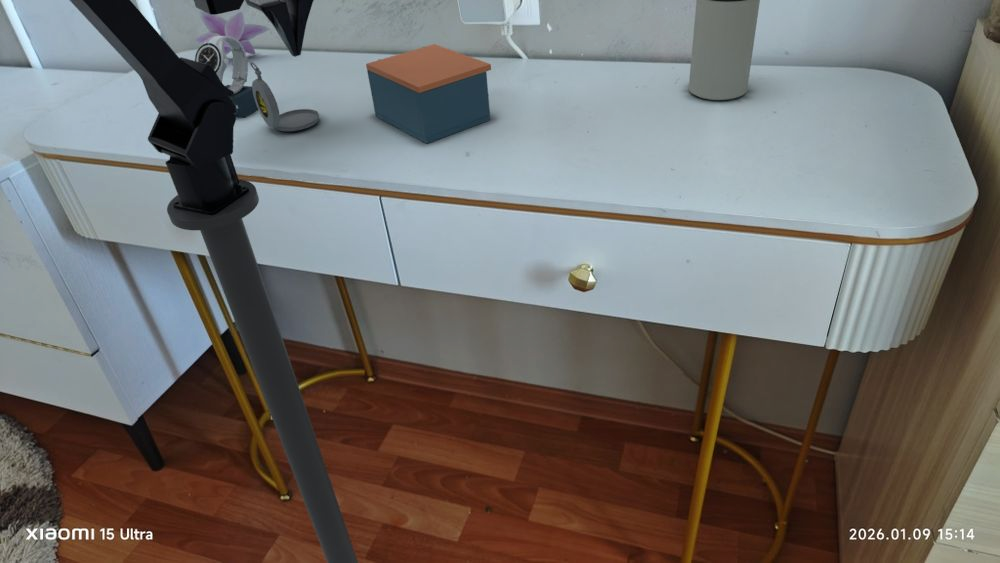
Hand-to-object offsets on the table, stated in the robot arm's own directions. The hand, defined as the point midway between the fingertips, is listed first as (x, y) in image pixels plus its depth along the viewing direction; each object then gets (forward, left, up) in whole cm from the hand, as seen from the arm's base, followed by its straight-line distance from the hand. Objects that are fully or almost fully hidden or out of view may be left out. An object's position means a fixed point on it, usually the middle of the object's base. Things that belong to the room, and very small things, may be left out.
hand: (296, 55), depth 86 cm
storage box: (+12, -11, -12) cm, 20 cm away
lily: (+26, +37, -12) cm, 47 cm away
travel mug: (+31, -47, -12) cm, 58 cm away
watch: (+7, +20, -12) cm, 24 cm away
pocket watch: (+4, +8, -12) cm, 15 cm away
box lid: (+12, -11, -5) cm, 17 cm away
